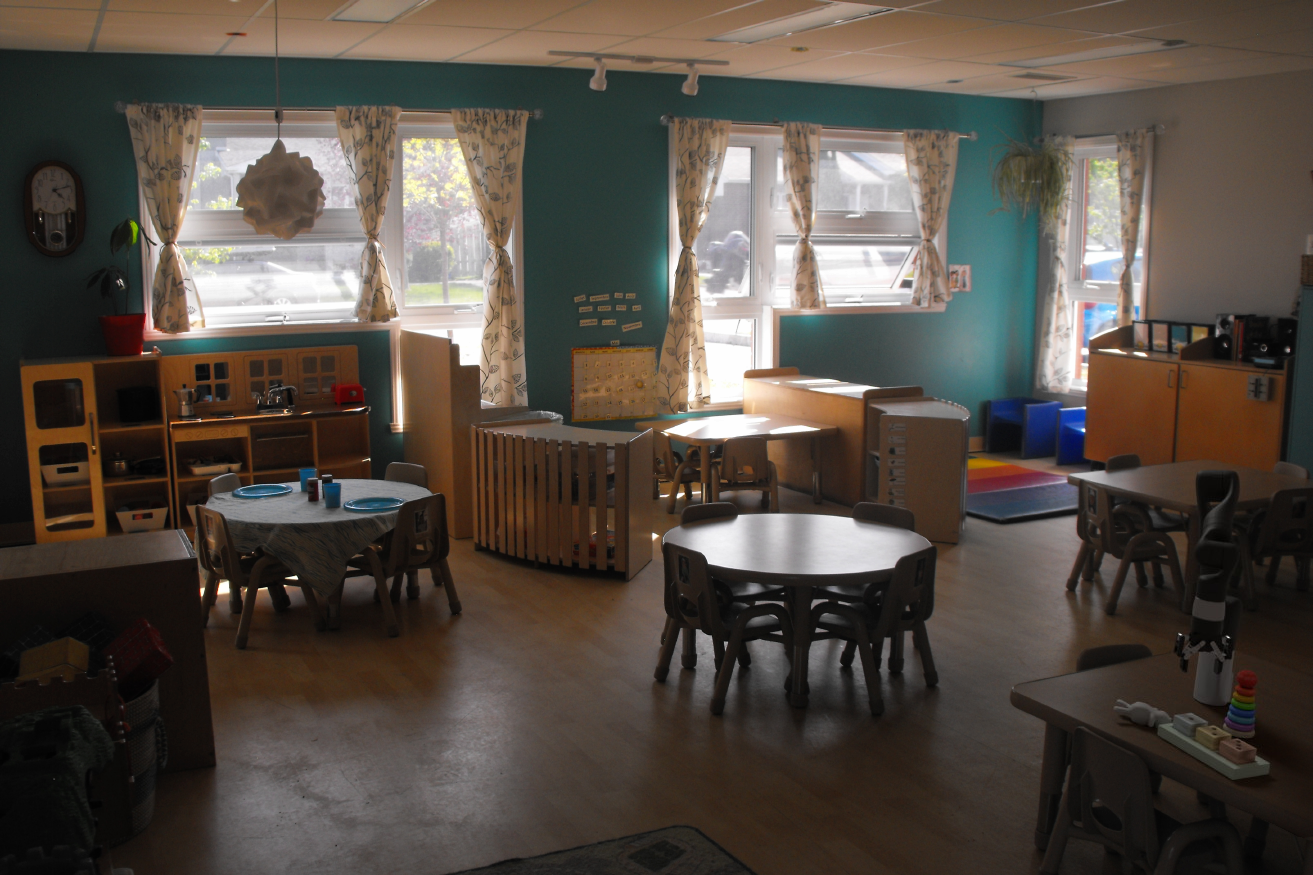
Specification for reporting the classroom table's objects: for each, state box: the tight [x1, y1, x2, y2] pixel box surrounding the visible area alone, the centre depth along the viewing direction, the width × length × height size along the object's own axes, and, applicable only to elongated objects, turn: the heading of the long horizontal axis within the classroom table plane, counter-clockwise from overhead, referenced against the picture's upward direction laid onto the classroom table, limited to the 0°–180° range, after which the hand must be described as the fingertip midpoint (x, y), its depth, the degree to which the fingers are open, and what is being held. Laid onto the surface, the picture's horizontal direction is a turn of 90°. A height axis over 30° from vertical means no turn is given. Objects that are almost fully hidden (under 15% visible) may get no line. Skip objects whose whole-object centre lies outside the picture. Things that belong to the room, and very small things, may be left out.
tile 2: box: [1195, 725, 1233, 751], centre depth 289 cm, size 6×6×4 cm
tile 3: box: [1218, 738, 1258, 765], centre depth 281 cm, size 6×6×4 cm
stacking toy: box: [1222, 669, 1259, 739], centre depth 301 cm, size 8×8×19 cm
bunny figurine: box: [1113, 699, 1173, 729], centre depth 308 cm, size 10×5×15 cm
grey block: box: [1172, 712, 1209, 738], centre depth 296 cm, size 6×6×4 cm
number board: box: [1156, 722, 1271, 781], centre depth 289 cm, size 12×26×3 cm, turn 18°
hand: (1200, 672), depth 286 cm, fingers open, 8 cm apart
